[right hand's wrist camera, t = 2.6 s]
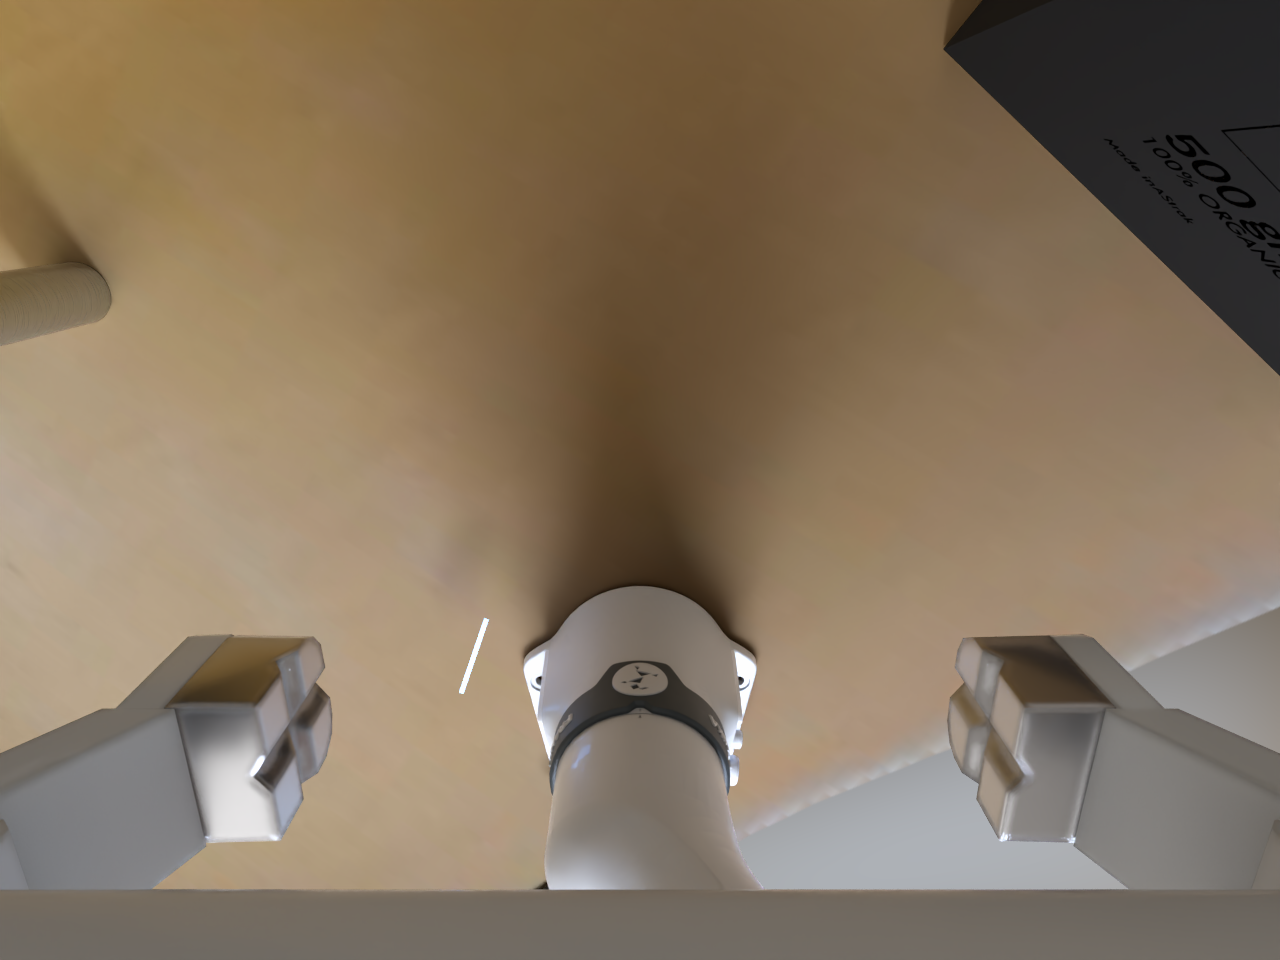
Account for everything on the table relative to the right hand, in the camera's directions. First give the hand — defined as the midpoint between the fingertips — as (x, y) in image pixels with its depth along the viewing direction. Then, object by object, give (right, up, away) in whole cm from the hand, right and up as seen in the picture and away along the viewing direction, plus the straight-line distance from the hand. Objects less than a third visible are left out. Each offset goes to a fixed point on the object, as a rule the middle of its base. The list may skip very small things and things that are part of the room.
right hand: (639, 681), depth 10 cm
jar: (-39, +15, +45) cm, 62 cm away
